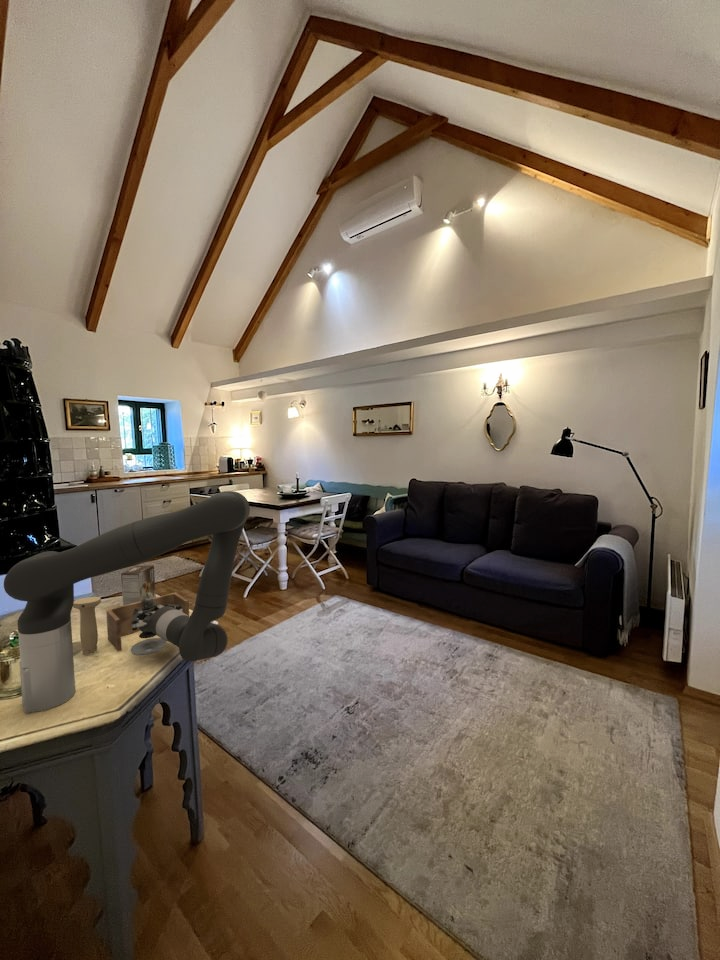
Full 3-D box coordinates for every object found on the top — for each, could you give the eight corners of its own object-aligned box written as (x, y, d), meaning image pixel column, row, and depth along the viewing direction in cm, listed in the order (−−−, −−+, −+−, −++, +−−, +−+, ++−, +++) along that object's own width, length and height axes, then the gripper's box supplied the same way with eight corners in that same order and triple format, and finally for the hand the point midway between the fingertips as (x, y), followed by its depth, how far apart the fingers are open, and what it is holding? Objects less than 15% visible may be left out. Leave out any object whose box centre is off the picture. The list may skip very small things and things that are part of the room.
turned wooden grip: (80, 649, 111) (77, 598, 109) (106, 646, 112) (103, 596, 111) (72, 658, 106) (69, 604, 105) (99, 655, 107) (96, 602, 106)
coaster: (136, 658, 106) (136, 657, 106) (126, 647, 112) (126, 645, 112) (171, 646, 112) (171, 645, 112) (160, 636, 118) (160, 635, 118)
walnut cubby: (117, 651, 109) (115, 620, 109) (107, 639, 117) (106, 609, 116) (189, 628, 124) (188, 600, 123) (177, 618, 131) (175, 592, 130)
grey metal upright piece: (133, 636, 110) (130, 595, 110) (152, 627, 116) (150, 588, 115) (146, 640, 108) (143, 598, 107) (165, 631, 113) (163, 591, 112)
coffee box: (139, 609, 139) (136, 565, 138) (156, 609, 139) (154, 564, 138) (123, 620, 130) (120, 573, 129) (142, 620, 130) (139, 573, 129)
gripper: (196, 602, 107) (167, 589, 118) (141, 619, 96) (115, 604, 107) (198, 628, 108) (169, 613, 119) (143, 649, 97) (117, 630, 108)
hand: (143, 609), depth 113 cm, fingers closed on grey metal upright piece, 3 cm apart
